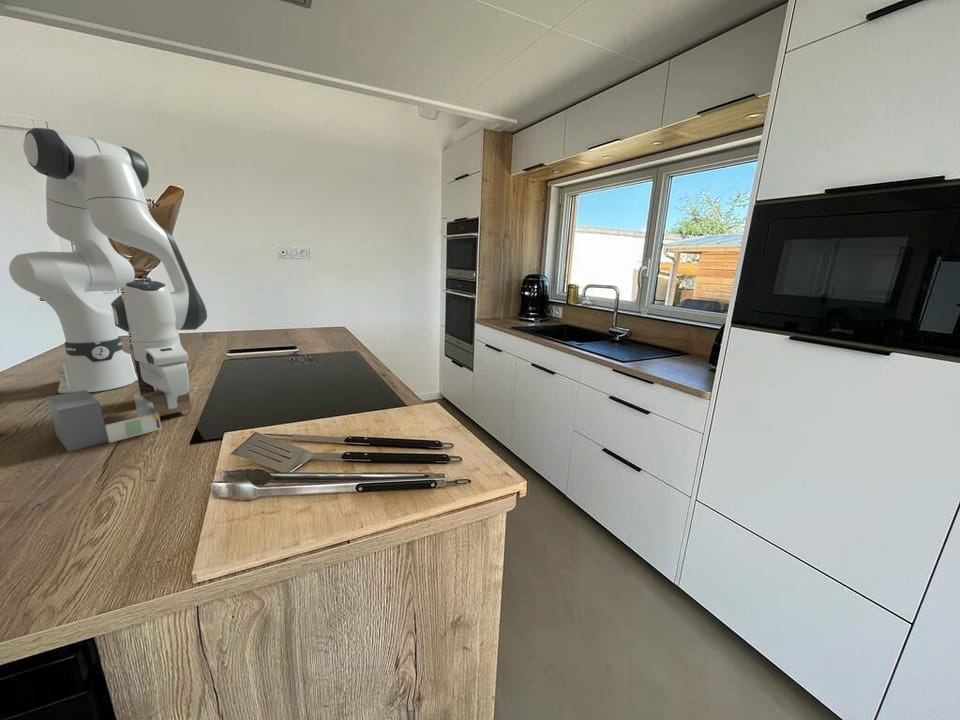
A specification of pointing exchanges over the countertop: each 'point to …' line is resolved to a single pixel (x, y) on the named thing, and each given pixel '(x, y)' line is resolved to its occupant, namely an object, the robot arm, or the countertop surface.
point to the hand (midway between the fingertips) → (168, 405)
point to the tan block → (160, 402)
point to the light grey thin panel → (144, 406)
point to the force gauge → (92, 422)
